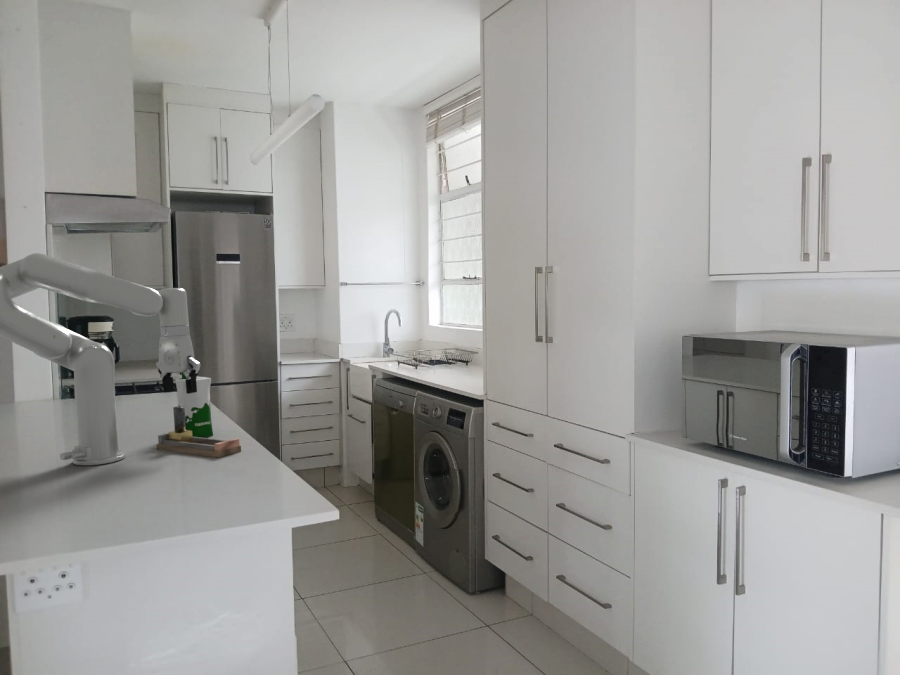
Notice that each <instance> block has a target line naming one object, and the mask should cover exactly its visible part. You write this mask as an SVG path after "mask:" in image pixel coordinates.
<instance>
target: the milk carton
mask: <svg viewBox="0 0 900 675" xmlns="http://www.w3.org/2000/svg"><path fill="white" fill-rule="evenodd" d="M189 374H190V372H189ZM181 376H182V378H176V379H175V380H174V381H175V385H176V391H177V403H178V405H177V406H185V422H186V430H190V431H192V437H201V438H208V437H212V436H214V433H213V432H214V430H213V424H212V412H211V393H210V392H211V383H212V378H211V377H207V376H198V377H197V378H196V384H197V392H195V393H190V394H187V393H186V382H185V381H186V379H187V378H186V376H185V375H184V373H183V372H181Z"/></svg>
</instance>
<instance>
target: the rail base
mask: <svg viewBox="0 0 900 675" xmlns="http://www.w3.org/2000/svg"><path fill="white" fill-rule="evenodd" d="M157 438H158V439H157V440H158V443H156V444H155V446H156V450H159V451H167V452H175V453H180V454H190V455H197V456H202V457H203V456H204V457H211V458H222V457H225V456H229V455H233V454H235V453H239V452H242V446H241V445H240V438H230V439H227V440H225V439H216V438H208V437H203V438H201V437H193V441H191V442H181V441H173V440H169V432H168V433H163V434H160V435H157Z"/></svg>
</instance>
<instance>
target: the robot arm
mask: <svg viewBox="0 0 900 675" xmlns="http://www.w3.org/2000/svg"><path fill="white" fill-rule="evenodd" d="M38 289H42V290H46V291H49V292H53V293H57V294H59V295H64V296H66V297H71V298H73V299H76V300H81V301H84V302H87V303H91V304H92V303H93V304H102V305H106V306H110V307H115V308H118V309H122V310H126V311H128V312H131V313H132V314H133V315H135V316H139V317H152V316H155V315H159V324H160V325H159V327H160V338H159V342H158V361H156V362H155V365H156V368H157V369H158V370H157V371H158V373H159V375H160V376H159V377H160V379H161V380H162V392H163V393H169V392H173V391H174V390H175V389H174V388H175V387H174V377H173V374H182V372H183V373H184V375H185V376H186V378H187V379H186V381H185V382H186V393H187V394H190V393H195V392H197V384H196V378H197V377H199V376H198V375H199V374H200V368H201V366H202V365H201V362H199V361H198V360H196V359H195V352H194V347H193V342H192V338H191V336H190V335H191V334H190V332H191V331H190V324H189V323H190V321H189V310H188V309H189V308H188V297H187V294H188V293H187V291H186V289H184V288H182V287H172V288H171V287H170V288H162V289H154V288H151V287H149V286H145V285H143V284H139V283H135V282H133V281H129V280H126V279H123V278H121V277H116V276H112V275H110V274H107V273H105V272H102V271H98V270H95V269H93V268H90V267H89V268H88V267H85V266H82V265H80V264H76V263H73V262H70V261H66V260H64V259H60V258H57V257H54V256H52V255H49V254H44V253H39V252H36V253H31V254H28V255H26V256H25V257H24V258H21V259H18V260H16V261H13V262H11V263H10V262H9V263H7V264H5V265H2V266H0V337H1V338H4V339H6V340H7V341H10V342H11V343H14V344H16V345H18V346H20V347H22V348H24V349H26V350H28V351H31V352H33V354H35V355H36V356H39V357H40V358H43V359H45V360H48V361H50V362H52V363H55V364H57V365H59V366H62V367H63V368H66V369H69V370H70V371H73V378H74V379H73V383H74V384H73V385H74V387H73V388H74V402H75V412H76V413H75V416H76V430H77V433H76V434H77V445H74V446H73V447H74V449H72V450H71V451H65V452H61V453H60V454H59V457H60V460H61V461H66V460H70V459H71V460H72V464H74V465H76V466H95V465H104V464H110V463H115V462H117V461H121V460H123V459H125V457H126V452H125V451H122V450H119V434H118V432H119V431H118V418H117V404H116V402H117V401H116V388H115V387H116V386H115V385H116V384H115V376H116V374H115V372H116V368H115V367H116V366H115V364H116V362H115V357H114V355H113V353H112V351H111V350H110V348H109V347H108V346H106V345H105V344H103V343H100V342H98V341H93V340H92V339H90V338H88V337H85V336H83V335H81V334H79V333H77V332H74V331H73V330H70V329H68V328H66V327H65V326H63V325H61V324H59V323H57V322H54V321H53V322H52V321H51V320H48V319H46V318H44V317H41V316H39V315H37V314H34V313H33V312H31V311H30V310H28V309H25V308H24V307H21V306H20V305H18V304H16V302H14V301H13V299H15V298H17V297H20V296H22V295H25V294H28V293H30V292H33V291H35V290H38ZM189 372H190V374H189Z"/></svg>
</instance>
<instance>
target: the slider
mask: <svg viewBox="0 0 900 675" xmlns="http://www.w3.org/2000/svg"><path fill="white" fill-rule="evenodd" d="M172 410H173V423H174V424H173V425H174V428H173V429H174V430H172V431H168V433H169V440H173V441H181V442H191V441H193V437H192V431H190V430H186V422H185V406H178V405H177V406H173V409H172Z"/></svg>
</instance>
